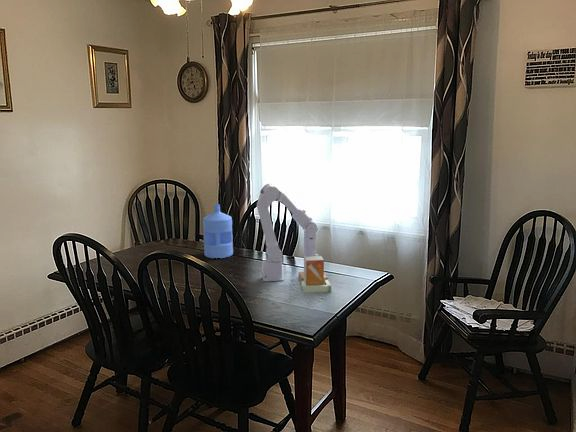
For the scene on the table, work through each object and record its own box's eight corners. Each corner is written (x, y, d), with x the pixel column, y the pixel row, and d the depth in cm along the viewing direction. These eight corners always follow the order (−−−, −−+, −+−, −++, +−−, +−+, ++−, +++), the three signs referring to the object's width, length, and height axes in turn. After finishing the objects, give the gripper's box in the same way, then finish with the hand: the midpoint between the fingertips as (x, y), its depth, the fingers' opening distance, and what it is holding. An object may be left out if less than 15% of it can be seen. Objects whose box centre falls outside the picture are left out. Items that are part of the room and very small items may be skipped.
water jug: (205, 251, 275) (202, 202, 269) (233, 250, 277) (231, 201, 271) (203, 259, 260) (201, 207, 254) (233, 258, 262) (231, 207, 256)
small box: (306, 289, 215) (305, 260, 213) (303, 284, 221) (303, 256, 219) (324, 288, 216) (324, 259, 214) (321, 283, 222) (321, 255, 220)
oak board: (301, 285, 221) (301, 278, 221) (298, 277, 231) (298, 271, 231) (327, 283, 223) (327, 277, 222) (323, 276, 233) (323, 270, 232)
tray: (303, 292, 211) (303, 287, 210) (301, 286, 219) (301, 280, 218) (331, 291, 212) (331, 285, 212) (327, 285, 220) (327, 279, 219)
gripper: (321, 249, 223) (320, 278, 226) (315, 241, 237) (315, 268, 240) (305, 250, 222) (305, 278, 225) (301, 242, 237) (301, 269, 239)
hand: (309, 273), depth 233 cm, fingers closed
